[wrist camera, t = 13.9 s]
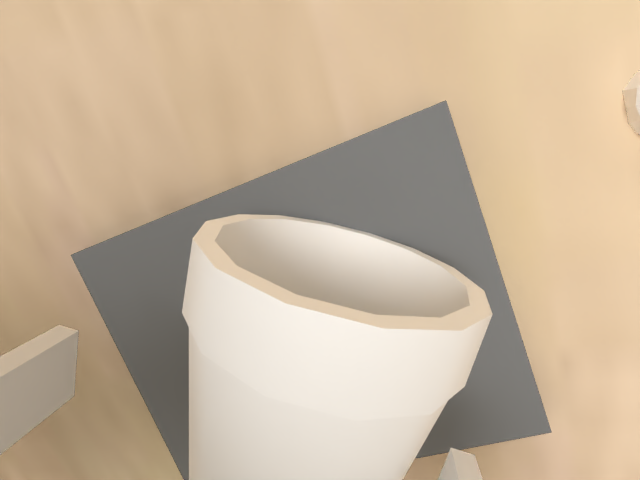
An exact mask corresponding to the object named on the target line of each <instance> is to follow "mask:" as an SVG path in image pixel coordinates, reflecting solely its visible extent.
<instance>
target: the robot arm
mask: <svg viewBox="0 0 640 480" xmlns="http://www.w3.org/2000/svg"><path fill="white" fill-rule="evenodd" d="M78 335H79V331H78V330H75V329H72V328H68V327H65V326H62V325H57V326H56V327H54V328H52V329H50V330H48V331H46V332H44V333H43V334H41V335H39V336H37V337H35V338H33V339H31V340H29V341H28V342H26V343H24V344H22V345H20V346H18V347H16V348H15V349H13V350H11V351H9V352H7V353H5V354H3V355H2V356H0V455H1V454H2V453H3V452H5V451H6V450H7V449H8V448H10V447H11V446H12V445H13V444H15V443H16V442H17V441H18V440H20V439H21V438H22V437H23V436H25V435H26V434H27V433H28V432H30V431H31V430H32V429H33V428H35V427H36V426H37V425H38V424H40V423H41V422H42V421H43V420H45V419H46V418H47V417H49V416H50V415H51V414H52V413H54V412H55V411H56V410H57V409H59V408H60V407H61V406H62V405H64V404H65V403H66V402H67V401H69V400H70V399H71V398H72V397H74V393H75V378H76V364H77V349H78ZM438 480H483V478H482V475H481V472H480V469H479V466H478V463H477V460H476V457H475V455H473V454H470V453H467V452H464V451H461V450H457V449H454V448H450V451H449V453H448V456H447V458H446V461H445V463H444V466H443V468H442V470H441V473H440V475H439V478H438Z"/></svg>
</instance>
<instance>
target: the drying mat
mask: <svg viewBox="0 0 640 480" xmlns="http://www.w3.org/2000/svg"><path fill="white" fill-rule="evenodd" d="M237 214H249V215H282V216H288V217H295V218H302V219H309V220H315V221H322V222H327V223H331V224H335V225H339V226H343V227H347V228H351V229H355V230H360V231H364V232H368V233H371V234H374V235H377V236H380V237H383V238H385V239H388V240H391V241H394V242H397V243H400V244H403V245H406V246H408V247H411V248H414V249H416V250H418V251H420V252H422V253H424V254H427V255H429V256H431V257H433V258H435V259H437V260H439V261H441V262H443V263H445V264H447V265H449V266H451V267H453V268H455V269H456V270H458V271H459V272H460V273H462V274H463V275H464V276H466V277H467V278H468V279H470V280H471V281H472V282H473V283H475V284H476V285H477V286H479V287H480V288H481V289H483V290H484V291H485V294H486V297H487V300H488V303H489V306H490V308H491V311H492V317H491V320H490V322H489V325H488V327H487V330H486V333H485V335H484V338H483V340H482V343H481V346H480V348H479V351H478V353H477V356H476V359H475V361H474V364H473V366H472V369H471V372H470V374H469V377H468V379H467V382H466V385H465V387H464V388H462V389H461V390H460V391H459V392H458V393H456V394H455V395H454V396H453V397H452V398H450V399H449V400H448V401H447V403H446V405H445V407H444V408H443V410H442V412H441V414H440V415H439V417H438V419H437V421H436V422H435V424H434V426H433V428H432V429H431V431H430V433H429V435H428V436H427V438H426V440H425V442H424V443H423V445H422V447H421V449H420V450H419V452H418V454H417V456H416V457H415V459H416V458H421V457H426V456H431V455H436V454H442V453H447V452H449V451H450V448H454V449H457V450H462V449H468V448H473V447H478V446H483V445H488V444H494V443H499V442H504V441H509V440H514V439H520V438H525V437H530V436H535V435H540V434H546V433H551V429H550V426H549V423H548V419H547V416H546V413H545V410H544V407H543V404H542V401H541V397H540V394H539V391H538V388H537V385H536V382H535V379H534V375H533V372H532V369H531V366H530V363H529V360H528V356H527V353H526V350H525V347H524V344H523V341H522V338H521V334H520V331H519V328H518V325H517V322H516V319H515V316H514V312H513V309H512V306H511V303H510V300H509V297H508V294H507V290H506V287H505V284H504V281H503V278H502V275H501V272H500V268H499V265H498V262H497V259H496V256H495V253H494V250H493V246H492V243H491V240H490V237H489V234H488V231H487V228H486V224H485V221H484V218H483V215H482V212H481V209H480V206H479V202H478V199H477V196H476V193H475V190H474V187H473V184H472V180H471V177H470V174H469V171H468V168H467V165H466V161H465V158H464V155H463V152H462V149H461V146H460V143H459V139H458V136H457V133H456V130H455V127H454V124H453V121H452V117H451V114H450V111H449V108H448V105H447V102H446V101H443V102H441V103H438V104H436V105H433V106H431V107H429V108H426V109H424V110H421V111H419V112H417V113H414V114H412V115H409V116H407V117H404V118H402V119H400V120H397V121H395V122H392V123H390V124H387V125H385V126H383V127H380V128H378V129H375V130H373V131H370V132H368V133H366V134H363V135H361V136H358V137H356V138H353V139H351V140H349V141H346V142H344V143H341V144H339V145H336V146H334V147H332V148H329V149H327V150H324V151H322V152H319V153H317V154H315V155H312V156H310V157H307V158H305V159H302V160H300V161H298V162H295V163H293V164H290V165H288V166H285V167H283V168H281V169H278V170H276V171H273V172H271V173H268V174H266V175H264V176H261V177H259V178H256V179H254V180H251V181H249V182H247V183H244V184H242V185H239V186H237V187H235V188H232V189H230V190H227V191H225V192H222V193H220V194H218V195H215V196H213V197H210V198H208V199H205V200H203V201H201V202H198V203H196V204H193V205H191V206H188V207H186V208H184V209H181V210H179V211H176V212H174V213H171V214H169V215H167V216H164V217H162V218H159V219H157V220H154V221H152V222H150V223H147V224H145V225H142V226H140V227H137V228H135V229H133V230H130V231H128V232H125V233H123V234H120V235H118V236H116V237H113V238H111V239H108V240H106V241H103V242H101V243H99V244H96V245H94V246H91V247H89V248H86V249H84V250H82V251H79V252H77V253H74V254H72V255H71V257H72V259H73V261H74V262H75V264H76V266H77V268H78V270H79V272H80V274H81V276H82V278H83V280H84V282H85V284H86V286H87V288H88V290H89V292H90V294H91V296H92V298H93V300H94V302H95V304H96V306H97V308H98V310H99V312H100V314H101V316H102V318H103V320H104V322H105V324H106V326H107V328H108V330H109V332H110V334H111V336H112V338H113V340H114V342H115V344H116V346H117V348H118V350H119V352H120V354H121V356H122V358H123V360H124V362H125V364H126V366H127V368H128V370H129V372H130V374H131V376H132V378H133V380H134V382H135V384H136V386H137V388H138V390H139V392H140V393H141V395H142V397H143V399H144V401H145V403H146V405H147V407H148V409H149V411H150V413H151V415H152V417H153V419H154V421H155V423H156V425H157V427H158V429H159V431H160V433H161V435H162V437H163V439H164V441H165V443H166V445H167V447H168V449H169V451H170V453H171V455H172V457H173V459H174V461H175V463H176V465H177V467H178V469H179V471H180V473H181V475H182V477H183V479H184V480H189V327H188V325H187V322H186V320H185V318H184V316H183V314H182V308H183V301H184V294H185V287H186V280H187V273H188V266H189V260H190V253H191V246H192V239H193V237H194V236H195V235H196V233H197V232H198V231H199V229H200V228H201V227H202V225H203V224H204V223H205V222H206V221H209V220H213V219H218V218H223V217H228V216H233V215H237Z"/></svg>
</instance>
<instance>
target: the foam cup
mask: <svg viewBox="0 0 640 480" xmlns="http://www.w3.org/2000/svg"><path fill="white" fill-rule="evenodd" d="M182 314H183V316H184V318H185V320H186V322H187V325H188V327H189V480H403V478H404V477H405V475H406V473H407V471H408V470H409V468H410V466H411V464H412V463H413V461H414V459H415V457H416V456H417V454H418V452H419V450H420V449H421V447H422V445H423V443H424V442H425V440H426V438H427V436H428V435H429V433H430V431H431V429H432V428H433V426H434V424H435V422H436V421H437V419H438V417H439V415H440V414H441V412H442V410H443V408H444V407H445V405H446V403H447V401H448V400H449V399H450V398H452V397H453V396H454V395H455V394H456V393H458V392H459V391H460V390H461V389H462V388H464V387H465V385H466V382H467V379H468V377H469V374H470V372H471V369H472V366H473V364H474V361H475V359H476V356H477V353H478V351H479V348H480V346H481V343H482V340H483V338H484V335H485V333H486V330H487V327H488V325H489V322H490V320H491V317H492V311H491V308H490V306H489V303H488V300H487V297H486V294H485V291H484V290H483V289H481V288H480V287H479V286H477V285H476V284H475V283H473V282H472V281H471V280H470V279H468V278H467V277H466V276H464V275H463V274H462V273H460V272H459V271H458V270H456V269H455V268H453V267H451V266H449V265H447V264H445V263H443V262H441V261H439V260H437V259H435V258H433V257H431V256H429V255H427V254H424V253H422V252H420V251H418V250H416V249H414V248H411V247H408V246H406V245H403V244H400V243H397V242H394V241H391V240H388V239H385V238H383V237H380V236H377V235H374V234H371V233H368V232H364V231H360V230H355V229H351V228H347V227H343V226H339V225H335V224H331V223H327V222H322V221H315V220H309V219H302V218H295V217H288V216H282V215H249V214H237V215H233V216H228V217H223V218H218V219H213V220H209V221H206V222H205V223H204V224H203V225H202V227H201V228H200V229H199V231H198V232H197V233H196V235H195V236H194V237H193V239H192V246H191V253H190V260H189V266H188V273H187V280H186V287H185V294H184V301H183V308H182Z"/></svg>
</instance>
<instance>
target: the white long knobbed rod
mask: <svg viewBox="0 0 640 480" xmlns="http://www.w3.org/2000/svg"><path fill="white" fill-rule="evenodd" d="M622 92H623V97H624V102H625V107H626V112H627V119H628V124H629V125H630V127H631V128H632V129H633V130H634V131H635V133H636V134H638V135H640V70H639V71H637V72H636V73H635V74H634V75H633V77H632V78H631V79H630V81H629V82H628V83H627V85H626V86H625V88H624V89H623V90H622Z"/></svg>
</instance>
